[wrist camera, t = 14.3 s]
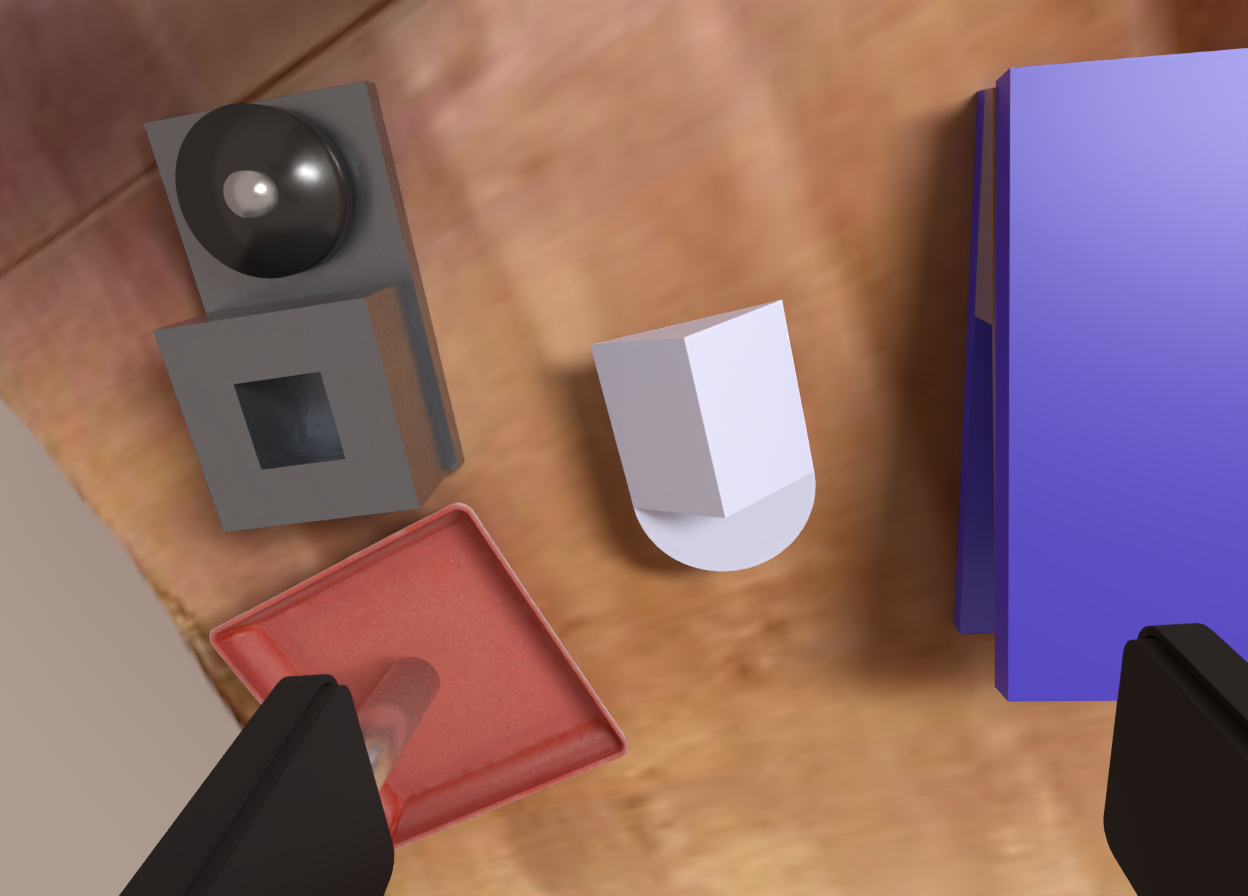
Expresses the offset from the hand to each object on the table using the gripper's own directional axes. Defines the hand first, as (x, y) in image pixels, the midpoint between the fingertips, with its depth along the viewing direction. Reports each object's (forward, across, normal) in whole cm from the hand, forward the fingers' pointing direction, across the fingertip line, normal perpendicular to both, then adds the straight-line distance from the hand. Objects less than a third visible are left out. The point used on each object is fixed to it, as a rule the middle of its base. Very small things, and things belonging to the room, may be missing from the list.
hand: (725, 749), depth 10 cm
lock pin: (+29, +17, +20) cm, 39 cm away
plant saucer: (+32, +17, +21) cm, 42 cm away
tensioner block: (+32, +19, -1) cm, 37 cm away
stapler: (+32, -18, +6) cm, 38 cm away
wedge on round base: (+32, 0, +7) cm, 33 cm away
